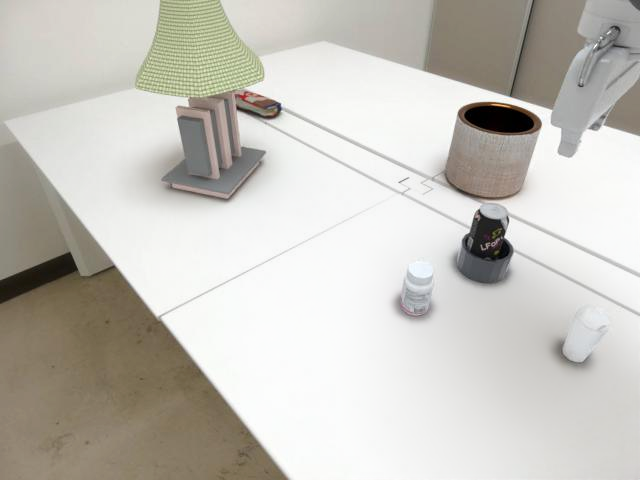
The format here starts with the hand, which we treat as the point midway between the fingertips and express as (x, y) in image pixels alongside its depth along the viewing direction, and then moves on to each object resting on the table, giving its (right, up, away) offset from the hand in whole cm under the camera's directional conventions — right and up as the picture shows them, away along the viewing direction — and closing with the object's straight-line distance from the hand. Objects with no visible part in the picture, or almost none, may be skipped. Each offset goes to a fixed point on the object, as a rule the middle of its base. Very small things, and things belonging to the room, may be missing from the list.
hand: (580, 140), depth 56 cm
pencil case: (-52, +27, +83) cm, 102 cm away
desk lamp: (-56, +3, +53) cm, 78 cm away
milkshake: (+6, -30, +13) cm, 33 cm away
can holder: (-2, -17, +28) cm, 33 cm away
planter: (+7, +2, +52) cm, 52 cm away
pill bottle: (-16, -23, +21) cm, 35 cm away
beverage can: (-3, -17, +28) cm, 33 cm away
